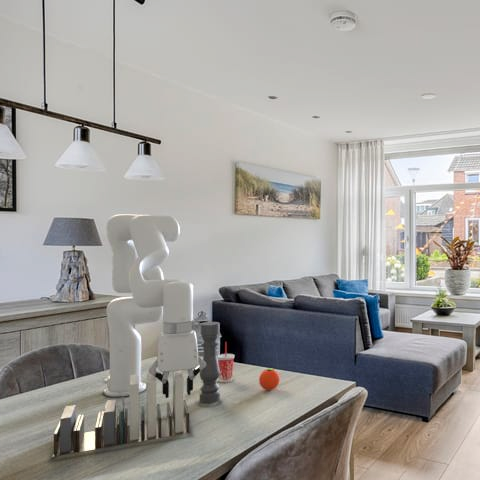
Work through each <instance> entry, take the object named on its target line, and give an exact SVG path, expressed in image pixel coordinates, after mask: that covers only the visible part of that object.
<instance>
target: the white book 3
mask: <svg viewBox="0 0 480 480" xmlns="http://www.w3.org/2000/svg"><path fill="white" fill-rule="evenodd" d="M184 381H185V380H184V375H183V372H182V370H180V371H172V419H173V424H174V430H175V433H179V432H183V401H184V400H185V399H184V397H185V396H184V395H185V394H184V388H185V385H184Z"/></svg>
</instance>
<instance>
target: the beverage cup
mask: <svg viewBox="0 0 480 480" xmlns="http://www.w3.org/2000/svg"><path fill="white" fill-rule="evenodd" d="M224 343H225V344H224V353H221V354H218V355H216V357H217V361H218V365H219V369H220V376H219V378H218V382H219V383H230V382H232V381H233V377H234V376H233V375H234V363H235V362H234V361H235V360H234V359H235V356H236V355H235V354H233V353H228V352H227V350H228V349H227V341H225V342H224Z"/></svg>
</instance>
